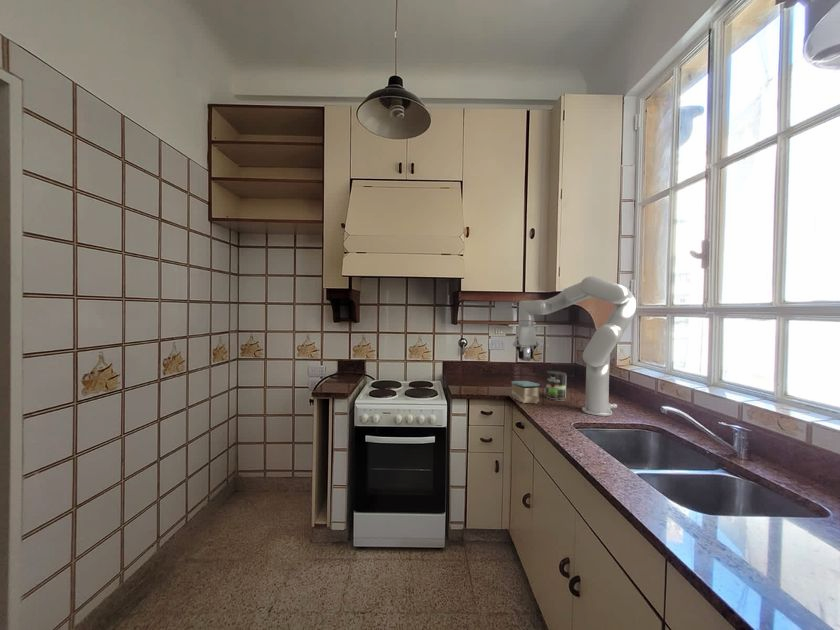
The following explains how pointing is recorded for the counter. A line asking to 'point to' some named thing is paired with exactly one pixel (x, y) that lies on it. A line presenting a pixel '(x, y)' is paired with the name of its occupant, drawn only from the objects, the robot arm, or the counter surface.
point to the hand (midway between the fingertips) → (525, 358)
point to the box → (525, 393)
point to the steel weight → (526, 353)
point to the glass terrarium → (556, 384)
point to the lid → (525, 383)
